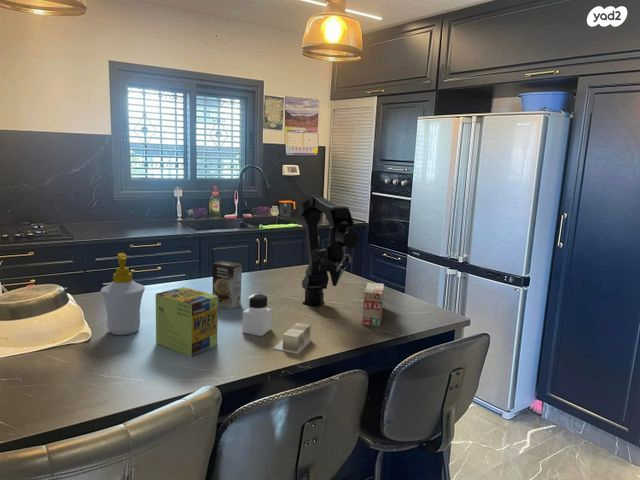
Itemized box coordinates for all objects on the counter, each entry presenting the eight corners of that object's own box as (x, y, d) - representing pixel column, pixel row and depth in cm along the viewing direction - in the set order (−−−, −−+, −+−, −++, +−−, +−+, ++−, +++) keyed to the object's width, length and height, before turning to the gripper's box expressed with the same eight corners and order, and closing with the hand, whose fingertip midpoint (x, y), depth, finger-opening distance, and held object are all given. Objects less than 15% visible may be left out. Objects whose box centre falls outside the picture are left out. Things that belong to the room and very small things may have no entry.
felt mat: (287, 336, 151) (287, 335, 151) (311, 340, 148) (311, 339, 148) (272, 348, 140) (273, 348, 140) (297, 354, 138) (297, 353, 138)
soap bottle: (103, 341, 140) (100, 260, 135) (100, 326, 151) (98, 251, 146) (148, 335, 146) (146, 257, 141) (142, 321, 157) (141, 249, 152)
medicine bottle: (271, 329, 156) (272, 294, 154) (262, 336, 149) (263, 300, 147) (252, 325, 158) (253, 291, 156) (242, 332, 152) (242, 297, 149)
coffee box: (211, 305, 177) (211, 263, 174) (221, 300, 182) (221, 260, 180) (232, 309, 173) (233, 266, 170) (241, 304, 179) (242, 263, 176)
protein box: (191, 357, 132) (191, 304, 130) (155, 343, 140) (154, 293, 137) (218, 345, 141) (218, 295, 138) (182, 333, 149) (182, 285, 146)
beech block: (297, 322, 150) (283, 334, 139) (310, 324, 148) (297, 337, 138) (296, 336, 150) (282, 348, 140) (309, 338, 149) (296, 351, 139)
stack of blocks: (366, 306, 185) (368, 275, 183) (382, 308, 184) (385, 277, 182) (361, 325, 164) (364, 291, 162) (380, 327, 163) (382, 292, 161)
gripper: (324, 236, 176) (322, 276, 178) (305, 244, 158) (303, 289, 161) (352, 239, 172) (350, 280, 175) (337, 248, 155) (334, 293, 157)
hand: (334, 285), depth 167 cm, fingers closed
